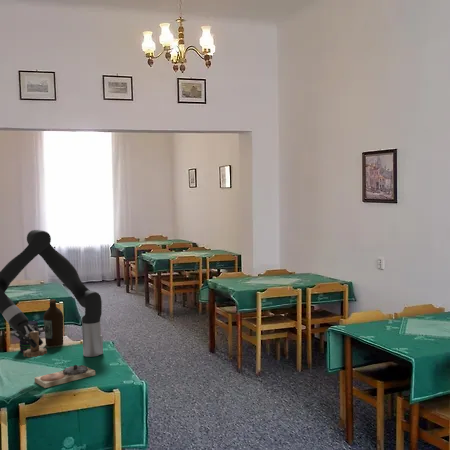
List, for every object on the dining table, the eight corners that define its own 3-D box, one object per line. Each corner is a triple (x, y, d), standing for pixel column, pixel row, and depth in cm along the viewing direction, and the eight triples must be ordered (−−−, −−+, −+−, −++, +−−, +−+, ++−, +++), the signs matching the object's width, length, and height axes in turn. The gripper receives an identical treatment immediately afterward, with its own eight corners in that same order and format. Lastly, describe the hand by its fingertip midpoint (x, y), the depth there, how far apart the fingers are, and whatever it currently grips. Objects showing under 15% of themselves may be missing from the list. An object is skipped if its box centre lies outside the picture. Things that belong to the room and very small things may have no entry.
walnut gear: (41, 349, 254) (40, 328, 254) (50, 353, 247) (49, 331, 246) (19, 354, 248) (18, 332, 247) (28, 358, 240) (27, 335, 240)
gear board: (84, 369, 261) (83, 359, 261) (95, 374, 253) (94, 364, 253) (34, 382, 245) (34, 371, 245) (45, 388, 237) (44, 377, 237)
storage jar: (42, 350, 297) (41, 322, 296) (24, 354, 290) (23, 326, 290) (34, 346, 304) (32, 320, 304) (16, 350, 298) (15, 323, 297)
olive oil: (56, 340, 316) (54, 297, 315) (68, 343, 310) (66, 299, 309) (40, 344, 308) (38, 300, 306) (52, 347, 301) (50, 302, 300)
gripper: (8, 315, 242) (33, 344, 239) (29, 308, 255) (53, 336, 252) (-1, 326, 244) (23, 355, 241) (21, 319, 257) (44, 346, 254)
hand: (38, 345), depth 246 cm, fingers closed on walnut gear, 3 cm apart
